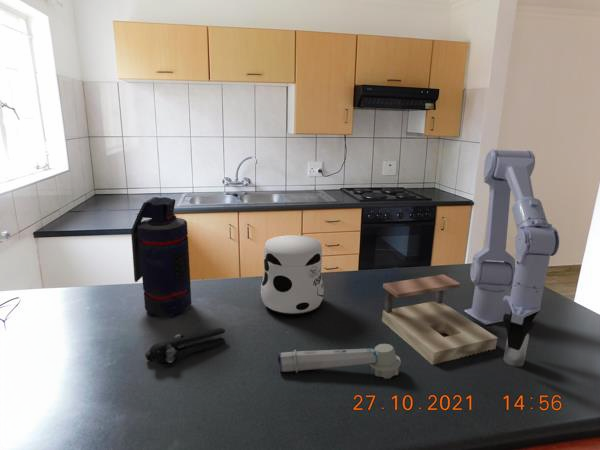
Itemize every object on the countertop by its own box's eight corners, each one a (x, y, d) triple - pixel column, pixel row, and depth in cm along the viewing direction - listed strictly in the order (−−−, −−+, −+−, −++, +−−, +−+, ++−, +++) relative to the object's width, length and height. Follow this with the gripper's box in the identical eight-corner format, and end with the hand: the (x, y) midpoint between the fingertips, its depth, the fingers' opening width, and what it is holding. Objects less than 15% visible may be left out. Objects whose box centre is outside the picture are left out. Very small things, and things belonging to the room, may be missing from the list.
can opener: (153, 376, 83) (151, 352, 81) (143, 360, 88) (141, 336, 87) (232, 348, 93) (232, 326, 91) (219, 335, 98) (218, 314, 97)
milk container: (335, 309, 112) (339, 247, 107) (281, 327, 102) (282, 259, 97) (300, 287, 125) (301, 230, 120) (249, 300, 116) (249, 240, 111)
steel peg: (512, 354, 93) (517, 327, 91) (527, 364, 89) (533, 336, 88) (499, 358, 92) (504, 330, 90) (514, 368, 88) (519, 339, 86)
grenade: (196, 299, 116) (191, 195, 107) (184, 320, 104) (177, 205, 96) (148, 297, 116) (139, 193, 108) (130, 318, 104) (118, 204, 96)
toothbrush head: (278, 346, 87) (396, 335, 86) (282, 373, 89) (397, 362, 88) (277, 361, 82) (402, 349, 81) (281, 389, 84) (403, 378, 83)
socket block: (438, 309, 113) (443, 274, 110) (497, 348, 95) (504, 307, 92) (379, 320, 106) (383, 283, 103) (430, 365, 88) (436, 321, 85)
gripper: (514, 268, 93) (505, 321, 97) (499, 288, 82) (489, 348, 86) (550, 276, 89) (538, 331, 93) (539, 298, 78) (527, 361, 82)
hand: (517, 340), depth 89 cm, fingers open, 7 cm apart
